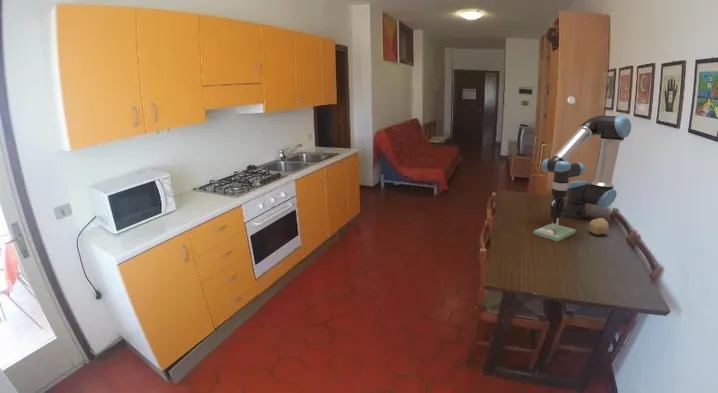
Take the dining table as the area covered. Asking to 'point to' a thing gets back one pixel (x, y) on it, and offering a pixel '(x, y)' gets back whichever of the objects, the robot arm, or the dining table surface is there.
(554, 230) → the mat
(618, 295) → the dining table surface
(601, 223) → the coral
